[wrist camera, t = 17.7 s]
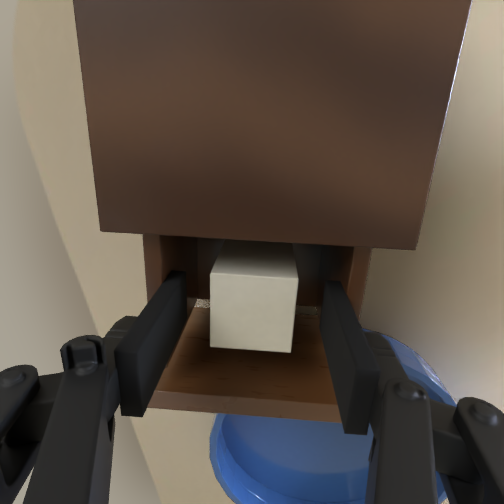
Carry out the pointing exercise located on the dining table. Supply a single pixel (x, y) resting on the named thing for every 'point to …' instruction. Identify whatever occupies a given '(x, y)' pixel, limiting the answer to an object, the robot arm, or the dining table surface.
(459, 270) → the dining table surface
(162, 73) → the cabinet
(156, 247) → the drawer
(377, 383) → the robot arm
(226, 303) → the block
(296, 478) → the bowl
